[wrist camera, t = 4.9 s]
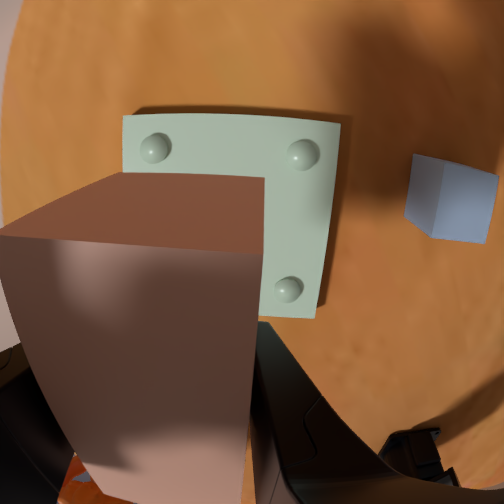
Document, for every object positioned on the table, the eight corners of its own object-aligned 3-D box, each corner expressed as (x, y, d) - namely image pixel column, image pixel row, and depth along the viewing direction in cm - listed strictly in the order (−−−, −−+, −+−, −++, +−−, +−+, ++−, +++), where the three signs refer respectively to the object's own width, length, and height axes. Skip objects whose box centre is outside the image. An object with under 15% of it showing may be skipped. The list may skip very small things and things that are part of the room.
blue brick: (452, 222, 19) (484, 243, 15) (403, 216, 19) (430, 237, 15) (463, 164, 17) (499, 176, 13) (412, 153, 17) (444, 162, 13)
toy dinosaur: (174, 414, 26) (128, 592, 10) (183, 468, 30) (156, 601, 14) (70, 390, 26) (-4, 531, 10) (96, 448, 31) (51, 564, 14)
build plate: (312, 310, 21) (314, 321, 20) (137, 295, 22) (131, 305, 20) (336, 123, 17) (342, 123, 16) (130, 115, 17) (120, 115, 16)
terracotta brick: (247, 399, 11) (238, 519, 7) (144, 386, 11) (104, 493, 7) (264, 177, 8) (264, 253, 4) (118, 172, 8) (-10, 234, 4)
